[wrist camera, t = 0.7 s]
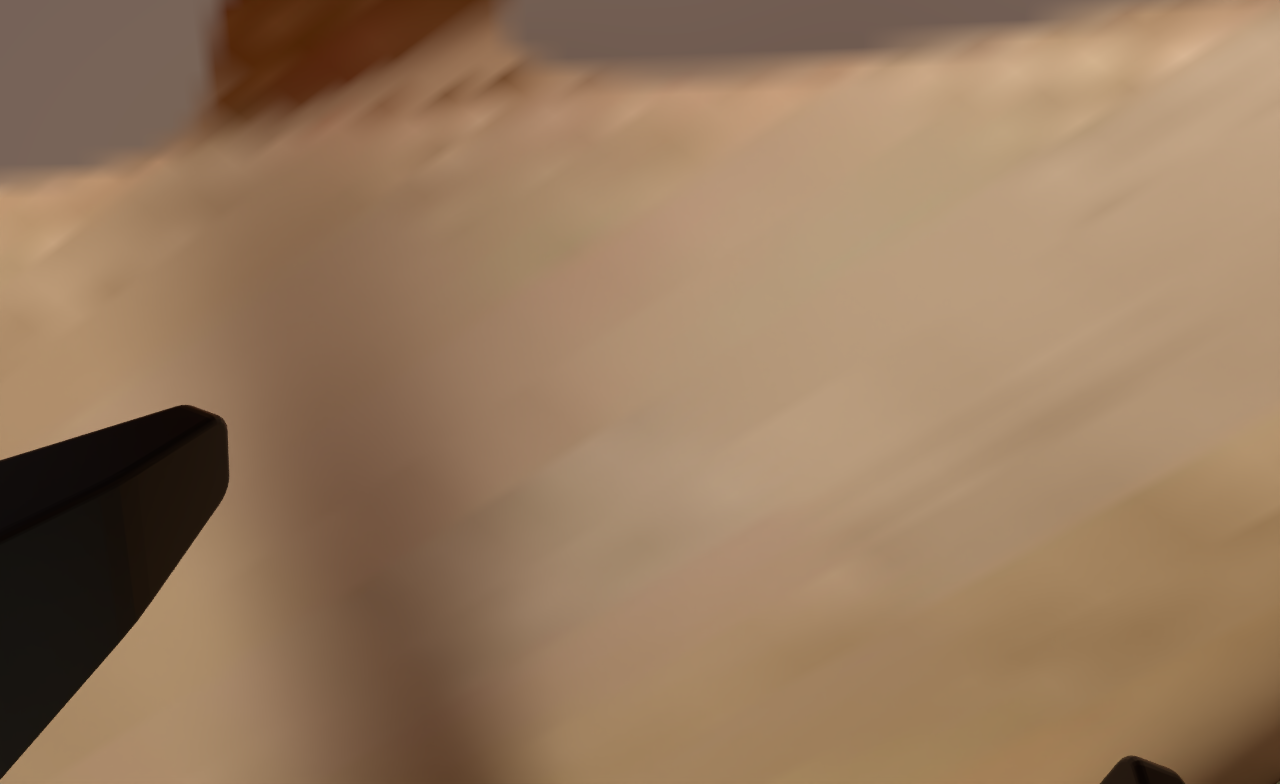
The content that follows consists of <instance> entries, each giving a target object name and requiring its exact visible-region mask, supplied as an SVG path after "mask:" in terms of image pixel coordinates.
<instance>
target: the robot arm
mask: <svg viewBox="0 0 1280 784" xmlns="http://www.w3.org/2000/svg"><path fill="white" fill-rule="evenodd" d="M228 483H229V456H228V431H227V425H226V423H225V421H224V420H223V418H221V417H220V416H218V415H216V414H213V413H210V412H207V411H205V410H202V409H199V408H197V407H194V406H190V405H180V406H176V407H172V408H169V409H166V410H163V411H159V412H156V413H153V414H150V415H146V416H143V417H140V418H137V419H133V420H130V421H127V422H124V423H120V424H117V425H114V426H111V427H107V428H104V429H101V430H98V431H94V432H91V433H88V434H85V435H81V436H78V437H75V438H72V439H68V440H65V441H62V442H59V443H55V444H52V445H49V446H46V447H42V448H39V449H36V450H33V451H29V452H26V453H23V454H20V455H16V456H13V457H10V458H7V459H3V460H0V779H1V778H2V777H3V776H4V775H5V774H6V772H7V771H8V770H9V769H10V768H11V767H12V766H13V764H14V763H15V762H16V761H17V760H18V759H19V758H20V756H21V755H22V754H23V753H24V752H25V751H26V749H27V748H28V747H29V746H30V745H31V744H32V743H33V741H34V740H35V739H36V738H37V737H38V736H39V735H40V733H41V732H42V731H43V730H44V729H45V728H46V726H47V725H48V724H49V723H50V722H51V721H52V720H53V718H54V717H55V716H56V715H57V714H58V713H59V711H60V710H61V709H62V708H63V707H64V706H65V705H66V703H67V702H68V701H69V700H70V699H71V698H72V697H73V695H74V694H75V693H76V692H77V691H78V690H79V688H80V687H81V686H82V685H83V684H84V683H85V682H86V680H87V679H88V678H89V677H90V676H91V675H92V674H93V672H94V671H95V670H96V669H97V668H98V667H99V665H100V664H101V663H102V662H103V661H104V660H105V659H106V657H107V656H108V655H109V654H110V653H111V652H112V651H113V649H114V648H115V647H116V646H117V645H118V644H119V642H120V641H121V640H122V639H123V638H124V636H125V635H126V634H127V633H128V632H129V630H130V629H131V628H132V627H133V626H134V624H135V623H136V622H137V621H138V619H139V618H140V617H141V615H142V614H143V613H144V611H145V610H146V608H147V607H148V606H149V604H150V603H151V602H152V600H153V599H154V597H155V596H156V595H157V593H158V592H159V590H160V589H161V587H162V586H163V584H164V583H165V582H166V580H167V579H168V577H169V576H170V574H171V573H172V572H173V570H174V569H175V567H176V566H177V564H178V563H179V562H180V560H181V559H182V557H183V556H184V554H185V553H186V551H187V550H188V549H189V547H190V546H191V544H192V543H193V541H194V540H195V539H196V537H197V536H198V534H199V533H200V531H201V530H202V528H203V527H204V526H205V524H206V523H207V521H208V520H209V518H210V517H211V516H212V514H213V513H214V511H215V510H216V508H217V507H218V506H219V504H220V502H221V501H222V499H223V497H224V495H225V493H226V490H227V487H228ZM1100 784H1185V783H1184V781H1183V780H1182V779H1181V777H1180V776H1179V775H1178V774H1177V773H1176V772H1174V771H1173V770H1171V769H1169V768H1167V767H1164V766H1161V765H1159V764H1156V763H1153V762H1151V761H1148V760H1145V759H1143V758H1140V757H1137V756H1127V757H1124V758H1122V759H1121V760H1120V761H1119V762H1118V763H1117V764H1116V765H1115V766H1114V768H1113V769H1112V770H1111V771H1110V772H1109V773H1108V775H1107V776H1106V777H1105V778H1104V779H1103V781H1102V782H1101V783H1100Z"/></svg>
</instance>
